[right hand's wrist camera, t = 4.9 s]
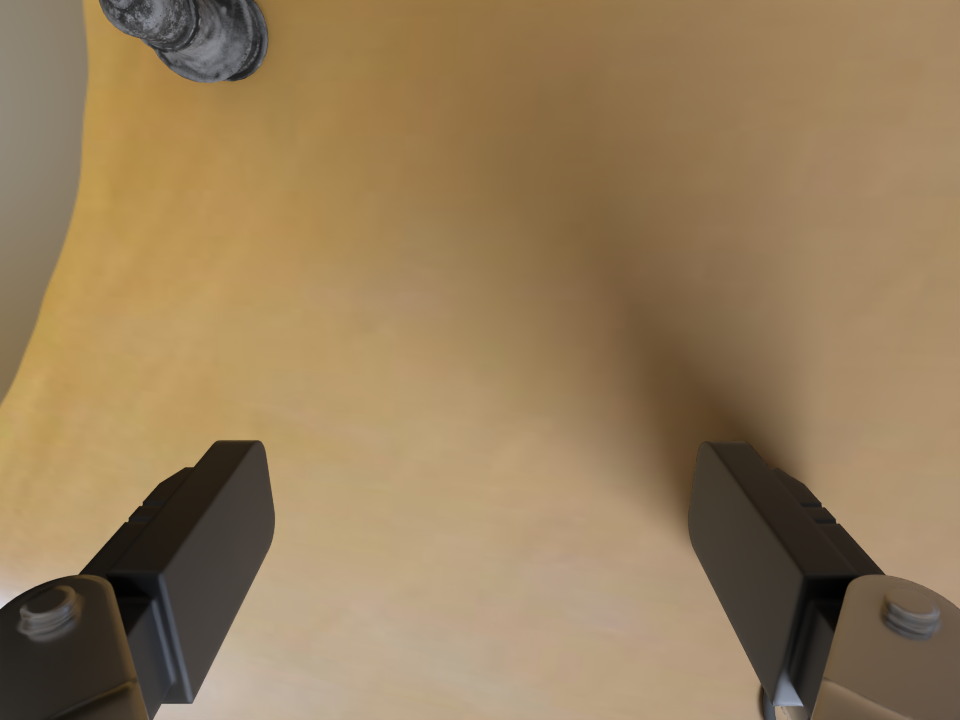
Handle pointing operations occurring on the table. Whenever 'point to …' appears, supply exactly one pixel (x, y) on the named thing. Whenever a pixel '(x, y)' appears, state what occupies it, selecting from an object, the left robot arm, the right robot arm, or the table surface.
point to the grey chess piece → (196, 34)
